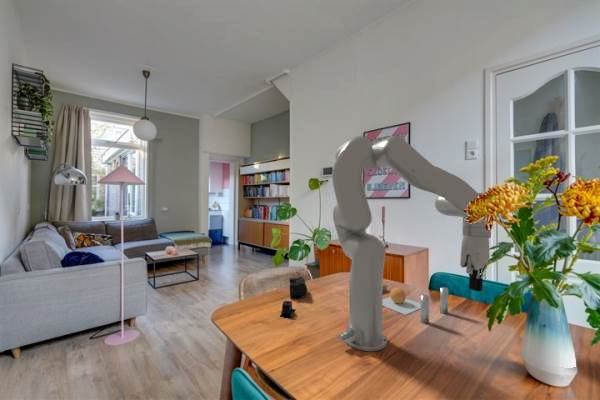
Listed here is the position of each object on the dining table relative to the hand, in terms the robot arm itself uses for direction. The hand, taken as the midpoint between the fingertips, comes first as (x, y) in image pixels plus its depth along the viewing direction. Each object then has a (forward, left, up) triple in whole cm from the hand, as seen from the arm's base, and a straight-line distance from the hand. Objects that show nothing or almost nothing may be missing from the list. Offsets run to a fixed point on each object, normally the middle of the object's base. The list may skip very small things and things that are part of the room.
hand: (475, 289), depth 86 cm
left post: (-6, +13, -13) cm, 20 cm away
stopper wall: (0, +41, -13) cm, 43 cm away
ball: (0, +28, -10) cm, 30 cm away
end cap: (-27, +59, -14) cm, 66 cm away
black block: (-41, +46, -14) cm, 63 cm away
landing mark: (0, +27, -13) cm, 30 cm away
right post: (+7, +13, -13) cm, 20 cm away
